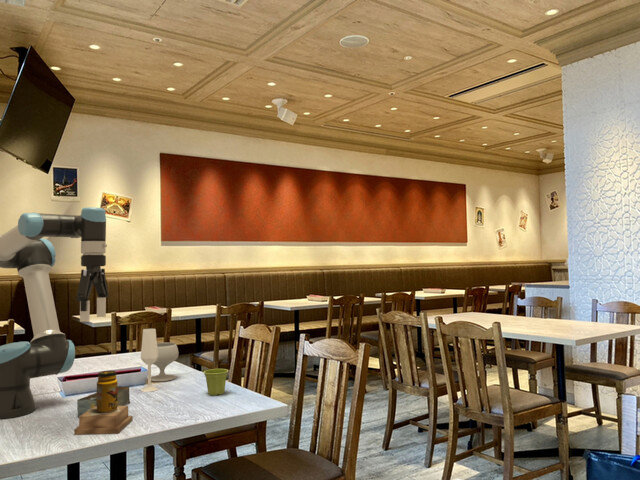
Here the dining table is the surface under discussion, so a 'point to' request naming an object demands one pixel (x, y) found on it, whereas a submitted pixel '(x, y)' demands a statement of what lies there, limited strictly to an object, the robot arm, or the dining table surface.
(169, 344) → the chalice
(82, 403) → the beverage carton
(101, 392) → the condiment
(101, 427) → the walnut plinth
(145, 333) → the champagne flute
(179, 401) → the dining table surface
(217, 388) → the plant pot
